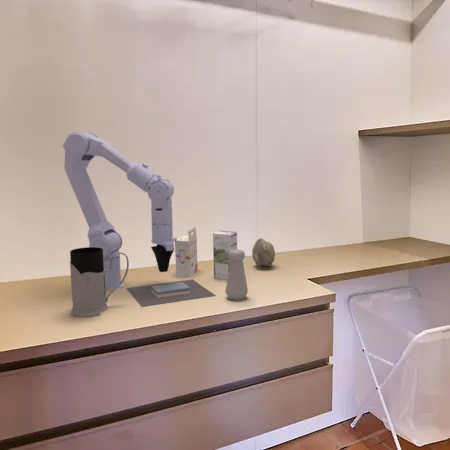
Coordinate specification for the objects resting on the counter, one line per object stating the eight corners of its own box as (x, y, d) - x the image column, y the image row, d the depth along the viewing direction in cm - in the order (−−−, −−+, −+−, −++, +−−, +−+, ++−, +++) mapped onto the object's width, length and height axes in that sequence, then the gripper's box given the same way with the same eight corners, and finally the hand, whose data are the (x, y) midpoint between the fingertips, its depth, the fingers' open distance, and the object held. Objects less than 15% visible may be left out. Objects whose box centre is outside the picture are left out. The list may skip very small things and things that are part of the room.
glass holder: (69, 308, 111) (65, 248, 109) (126, 300, 116) (124, 243, 114) (72, 319, 103) (68, 255, 101) (134, 310, 109) (131, 249, 106)
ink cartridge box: (183, 270, 146) (182, 226, 144) (197, 271, 145) (197, 226, 143) (175, 277, 138) (173, 230, 136) (190, 278, 137) (189, 230, 135)
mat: (141, 308, 110) (141, 306, 110) (126, 289, 126) (126, 288, 126) (216, 297, 118) (216, 295, 118) (192, 280, 134) (192, 279, 134)
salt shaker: (240, 304, 112) (240, 253, 110) (221, 300, 115) (220, 251, 113) (251, 298, 117) (251, 249, 115) (233, 294, 120) (232, 247, 118)
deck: (151, 291, 122) (157, 298, 117) (151, 286, 122) (157, 292, 116) (182, 287, 126) (190, 293, 120) (182, 282, 125) (190, 287, 120)
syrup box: (238, 276, 138) (237, 230, 136) (230, 281, 133) (229, 233, 130) (221, 275, 140) (220, 229, 138) (213, 279, 135) (212, 232, 133)
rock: (262, 272, 143) (262, 241, 142) (244, 267, 150) (244, 238, 148) (282, 267, 150) (282, 237, 148) (263, 262, 156) (263, 234, 154)
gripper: (184, 226, 119) (185, 275, 121) (168, 219, 132) (169, 264, 134) (158, 228, 116) (160, 278, 118) (144, 220, 129) (146, 266, 131)
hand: (163, 271), depth 126 cm, fingers closed
